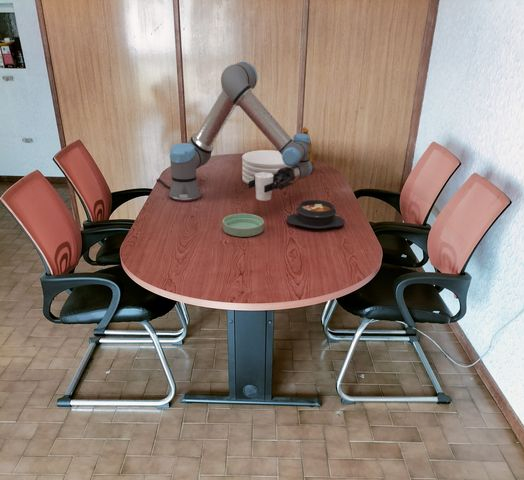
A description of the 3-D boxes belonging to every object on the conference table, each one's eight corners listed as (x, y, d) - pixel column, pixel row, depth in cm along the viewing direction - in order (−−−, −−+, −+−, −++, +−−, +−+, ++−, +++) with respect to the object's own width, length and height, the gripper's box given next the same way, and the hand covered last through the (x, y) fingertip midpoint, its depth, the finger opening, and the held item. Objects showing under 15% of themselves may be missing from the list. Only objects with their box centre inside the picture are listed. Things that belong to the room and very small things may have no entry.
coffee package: (295, 174, 286) (297, 131, 274) (294, 167, 296) (296, 126, 284) (313, 174, 286) (316, 132, 274) (311, 168, 296) (314, 127, 284)
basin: (214, 231, 217) (214, 221, 215) (240, 219, 229) (240, 210, 226) (246, 241, 209) (246, 232, 207) (271, 229, 220) (272, 219, 218)
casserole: (286, 231, 218) (287, 212, 214) (286, 215, 234) (287, 197, 229) (345, 233, 218) (348, 214, 213) (342, 217, 233) (344, 199, 228)
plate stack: (304, 177, 281) (305, 155, 275) (277, 190, 262) (278, 167, 255) (260, 168, 293) (260, 147, 287) (231, 180, 274) (231, 158, 267)
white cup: (270, 202, 222) (271, 178, 216) (252, 200, 223) (253, 176, 217) (274, 196, 228) (275, 173, 223) (256, 194, 230) (257, 171, 224)
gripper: (306, 188, 232) (276, 201, 216) (269, 178, 241) (238, 190, 226) (307, 171, 227) (277, 183, 212) (269, 162, 237) (238, 173, 222)
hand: (257, 187), depth 219 cm, fingers closed on white cup, 8 cm apart
